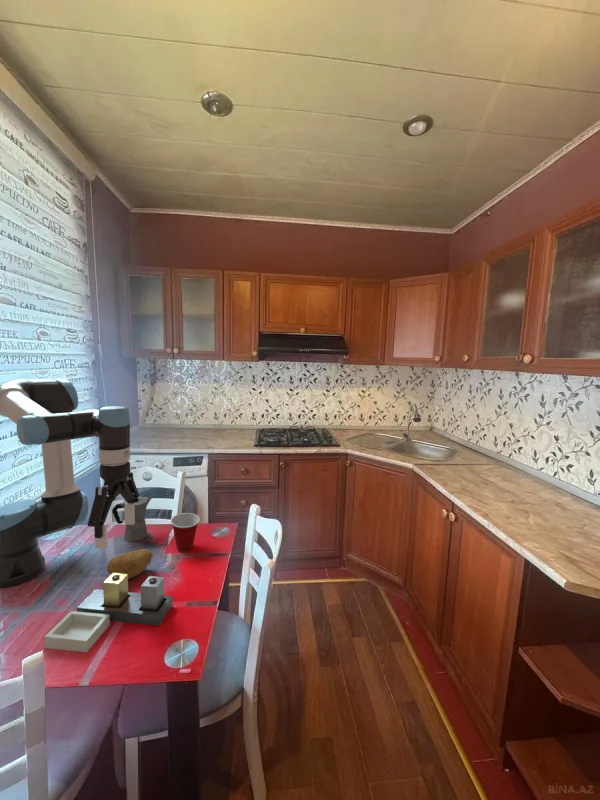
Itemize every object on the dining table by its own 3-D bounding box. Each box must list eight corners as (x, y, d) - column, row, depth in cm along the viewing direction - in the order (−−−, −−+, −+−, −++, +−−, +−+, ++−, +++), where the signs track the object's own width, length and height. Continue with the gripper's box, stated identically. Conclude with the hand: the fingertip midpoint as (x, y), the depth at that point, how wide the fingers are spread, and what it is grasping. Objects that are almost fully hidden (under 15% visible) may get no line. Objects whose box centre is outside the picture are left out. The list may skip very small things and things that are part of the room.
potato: (157, 574, 117) (157, 552, 116) (111, 591, 108) (111, 567, 107) (147, 561, 124) (147, 540, 124) (103, 576, 115) (103, 554, 114)
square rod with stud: (141, 619, 97) (140, 584, 96) (149, 607, 102) (149, 574, 100) (156, 620, 97) (156, 585, 96) (164, 609, 101) (164, 575, 100)
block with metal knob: (103, 615, 98) (103, 581, 97) (113, 604, 102) (113, 571, 101) (119, 616, 98) (118, 582, 96) (128, 605, 102) (127, 572, 101)
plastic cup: (178, 559, 127) (178, 528, 125) (165, 547, 134) (165, 518, 133) (205, 548, 134) (205, 519, 133) (191, 538, 142) (191, 510, 141)
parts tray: (45, 648, 86) (44, 636, 86) (71, 621, 95) (71, 611, 95) (86, 652, 85) (86, 640, 85) (109, 625, 94) (109, 614, 94)
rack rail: (76, 617, 97) (76, 607, 96) (95, 598, 105) (95, 589, 104) (159, 625, 95) (159, 615, 95) (172, 605, 103) (172, 596, 103)
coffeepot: (146, 527, 150) (146, 486, 148) (156, 534, 143) (156, 493, 141) (108, 539, 138) (107, 496, 136) (117, 548, 132) (116, 503, 130)
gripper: (99, 477, 83) (101, 560, 85) (150, 451, 108) (150, 516, 110) (69, 475, 84) (72, 558, 86) (127, 450, 108) (128, 515, 111)
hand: (116, 535), depth 98 cm, fingers open, 13 cm apart
